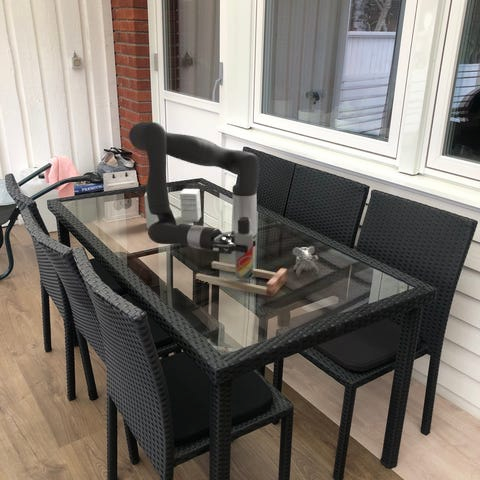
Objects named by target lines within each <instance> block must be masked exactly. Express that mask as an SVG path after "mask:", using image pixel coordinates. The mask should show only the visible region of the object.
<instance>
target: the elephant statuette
mask: <svg viewBox="0 0 480 480" xmlns="http://www.w3.org/2000/svg"><path fill="white" fill-rule="evenodd" d="M314 253H315V247H314V246H309V247H306V246H305V247H303V246H301V247H294V248H293V249H292V254H293V255H294V256H296V258H295V265H294V266H293V269H294V270H296V271H295V274H296V276H301V273H302V271H304V270H305V271H306V272H308V271H310V270H313V272H314V274H315V275H318V274H319V273H320V269H319V267H318V266H317V265H316V263H315V261H319V257H318V255H313V254H314Z"/></svg>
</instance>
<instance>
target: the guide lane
mask: <svg viewBox="0 0 480 480" xmlns="http://www.w3.org/2000/svg"><path fill="white" fill-rule="evenodd" d="M211 269H214V270H215V269H216V270H221V271H226V272H230V273H235V264H233V263H232V264H231V263H226V262H223V261H221V262H220V261H215V260H213V261H212V262H211ZM253 277H257V278H262V279H267V280H268V281H267V282H266V286H265V285H264V286H263V285H258V284H253V283H248V282H243V281H239V280H233V279H229V278H225V277H219V276H213V275H208V274H203V273H199V272H198V273H196V274H195V280H196V279H199V280H201V281H204V282H203V283H205V282H208V283H207V284H210V283H211V285H216V286H219V287H224V288H225V287H226V288H229V289H234V290H239V291H243V292H248V293H252V294H258V295H263V296H268V297H274V295H276V293H277V292H278V291H279V290H280V289H281V288H282V287H283V285H284V284H285V283H286V282H287V281H288V268H284V267H283V268H282V267H281V268H280V269H279V270H277V272H275V271H274V272H273V271H270V270H265V269H257V268H254V267H253Z"/></svg>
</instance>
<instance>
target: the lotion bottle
mask: <svg viewBox="0 0 480 480" xmlns="http://www.w3.org/2000/svg"><path fill="white" fill-rule="evenodd" d="M253 240H254V237H253V232H252V231H250V219H249V218H248V217H241V218H239V219H238V231H236V232H235V240H234V243H235V244H236V245H237V244H238V245H246V246H248V252H247V253H243V252H238V251H236V252H234V263H235V264H234V265H235V272H234V273H235V278H236V279H238V280H240V281H249V280H251V279H253V277H254V276H253V268H254V247H253Z"/></svg>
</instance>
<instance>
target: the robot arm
mask: <svg viewBox="0 0 480 480" xmlns="http://www.w3.org/2000/svg"><path fill="white" fill-rule="evenodd" d="M128 139H129V141H130V144H131V145H132V146H133V147H134V148H135V149H137V150H139V151H141V152H146V155H147V160H148V174H147V175H148V176H147V180H146V181H147V182H146V189H145V191H146V192H145V193H147V200H148V206H149V211H150V213H151V214H153V215H157V217H158V220H159V221H158V222H155V223H153V224H152V225H151V226H150V227H149V228H147V235H148V238H149V239H150V240H151V241H152V242H154V243H156V244H158V245H159V244H160V245H182V246H187V247H192V248H194V249H198V250H199V249H200V250H203V251H209V252H213V253H214V254H225V255H230V254H233V253H235V252H236V251H238V252H243V253H247V252H248V246H246V245H238V244H237V245H236V244H235V232H236V231H238V219H239V218H241V217H248V218H249V219H250V231H252V232H253V236H254V235H255V234H256V233H257V234H258V210H257V207H258V206H257V204H258V203H257V189H258V186H259V181H260V180H259V179H260V178H259V176H260V175H259V174H260V163H259V159H258V157H257V155H256V154H254V153H252V152H249V151H245V150H240V149H239V150H238V149H237V150H236V149H229V148H224V147H221V146H219V145H217V144H216V143H214V142H212V141H210V140H209V139H204V138H201V137H198V136H194V135H189V134H182V133H172V132H167V131H166V130H165V129H164V127H163V125H161V124H160V123H158V122H154V121H152V122H147V121H146V122H145V121H144V122H138V123H136V124H134V125H133V126H132V127H131V128H130V131H129V132H128ZM167 156H170V157H172V158H174V159H177V160H179V161H184V162H187V163H188V164H189V163H190V164H194V165H197V166H202V167H215V168H219V169H222V170H225V171H227V172H230V173H232V174H234V175H236V176H238V183H236V184H234V185H233V186H232V191H231V192H232V210H233V211H232V215H233V218H232V219H233V230H232V231H231V233H230V234H229V233H223V232H222V231H221V230H220V229H219V228H215V227H210V226H204V225H195V224H189V223H180V224H179V223H178V224H177V221H176V218H175V216H174V213H173V210H172V209H171V207H170V206H171V205H170V197H169V190H168V183H167V182H168V181H167ZM256 245H257V242H256V239H253V248H254V247H256Z"/></svg>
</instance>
